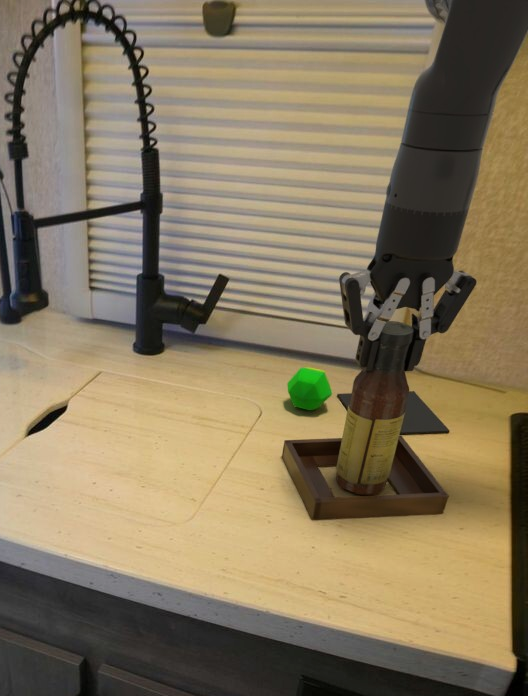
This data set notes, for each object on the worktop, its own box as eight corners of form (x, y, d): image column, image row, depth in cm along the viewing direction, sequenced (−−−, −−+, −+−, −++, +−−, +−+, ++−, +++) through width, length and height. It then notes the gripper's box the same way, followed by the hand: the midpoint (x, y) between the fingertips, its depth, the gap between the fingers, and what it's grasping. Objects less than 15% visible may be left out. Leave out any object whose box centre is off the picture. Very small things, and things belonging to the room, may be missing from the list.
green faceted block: (309, 368, 91) (327, 344, 97) (271, 388, 95) (291, 364, 101) (335, 411, 92) (351, 385, 99) (298, 429, 97) (315, 402, 103)
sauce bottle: (388, 477, 83) (435, 323, 71) (381, 503, 78) (429, 343, 66) (336, 464, 85) (372, 312, 73) (325, 489, 80) (362, 331, 69)
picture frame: (396, 451, 88) (401, 435, 86) (443, 513, 77) (449, 496, 75) (281, 456, 87) (284, 439, 85) (312, 519, 76) (315, 502, 74)
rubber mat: (413, 393, 101) (413, 391, 101) (449, 433, 92) (449, 430, 92) (336, 396, 100) (337, 393, 100) (365, 436, 91) (365, 433, 91)
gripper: (368, 209, 59) (333, 386, 69) (521, 208, 60) (463, 382, 70) (341, 191, 65) (312, 356, 75) (480, 190, 66) (432, 353, 76)
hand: (385, 368), depth 73 cm, fingers closed on sauce bottle, 4 cm apart
